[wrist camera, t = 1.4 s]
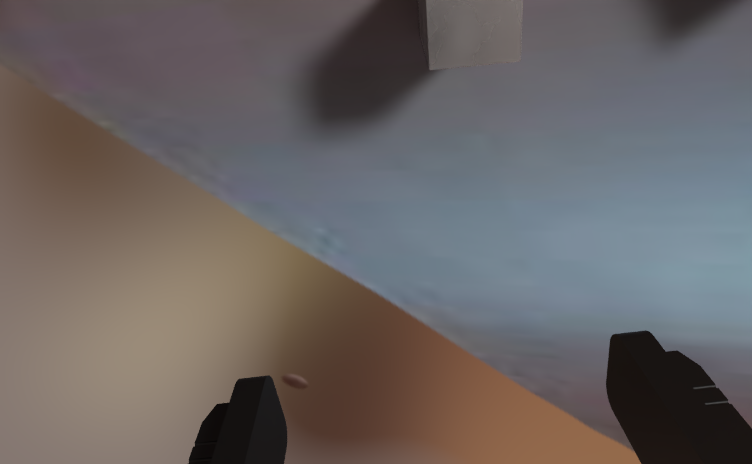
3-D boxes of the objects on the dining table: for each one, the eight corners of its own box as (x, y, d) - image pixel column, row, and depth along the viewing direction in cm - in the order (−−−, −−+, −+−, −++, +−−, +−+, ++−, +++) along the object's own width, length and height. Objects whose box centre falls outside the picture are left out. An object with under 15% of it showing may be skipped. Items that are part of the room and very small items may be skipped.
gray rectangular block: (485, 28, 35) (520, 61, 25) (419, 35, 35) (429, 70, 26) (485, -46, 33) (524, -42, 23) (415, -39, 33) (424, -30, 23)
